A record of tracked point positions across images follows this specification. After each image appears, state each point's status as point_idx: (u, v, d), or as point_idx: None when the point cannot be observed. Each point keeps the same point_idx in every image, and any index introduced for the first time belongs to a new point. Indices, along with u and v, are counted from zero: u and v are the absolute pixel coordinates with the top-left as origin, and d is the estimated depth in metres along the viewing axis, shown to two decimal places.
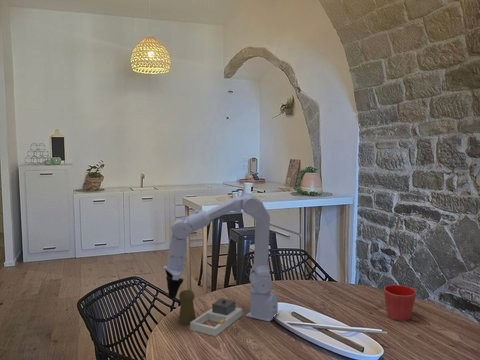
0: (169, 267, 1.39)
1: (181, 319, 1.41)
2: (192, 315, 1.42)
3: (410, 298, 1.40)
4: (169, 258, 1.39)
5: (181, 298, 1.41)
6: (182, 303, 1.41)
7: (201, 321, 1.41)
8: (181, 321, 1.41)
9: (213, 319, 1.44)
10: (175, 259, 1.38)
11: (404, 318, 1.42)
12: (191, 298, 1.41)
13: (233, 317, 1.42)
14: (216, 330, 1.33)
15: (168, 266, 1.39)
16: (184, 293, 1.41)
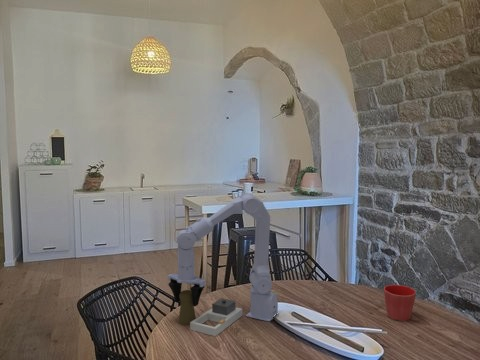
0: (187, 278, 1.39)
1: (181, 319, 1.41)
2: (192, 315, 1.42)
3: (410, 298, 1.40)
4: (185, 270, 1.39)
5: (181, 298, 1.41)
6: (182, 303, 1.41)
7: (201, 321, 1.41)
8: (181, 321, 1.41)
9: (213, 319, 1.44)
10: (191, 268, 1.40)
11: (404, 318, 1.42)
12: (191, 298, 1.41)
13: (233, 317, 1.42)
14: (216, 330, 1.33)
15: (185, 278, 1.39)
16: (184, 293, 1.41)
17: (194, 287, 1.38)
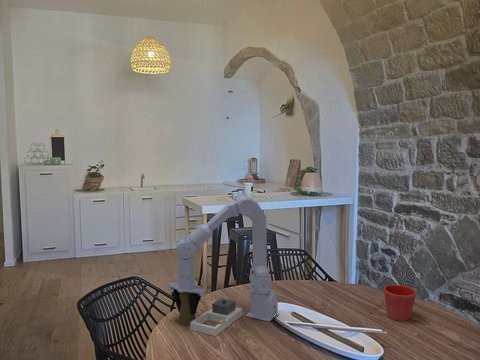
0: (187, 288, 1.40)
1: (181, 319, 1.41)
2: (192, 315, 1.42)
3: (410, 298, 1.40)
4: (185, 279, 1.39)
5: (181, 298, 1.41)
6: (182, 303, 1.41)
7: (201, 321, 1.41)
8: (181, 321, 1.41)
9: (213, 319, 1.44)
10: (192, 278, 1.40)
11: (404, 318, 1.42)
12: None
13: (233, 317, 1.42)
14: (216, 330, 1.33)
15: (185, 287, 1.39)
16: (184, 293, 1.41)
17: (194, 296, 1.39)
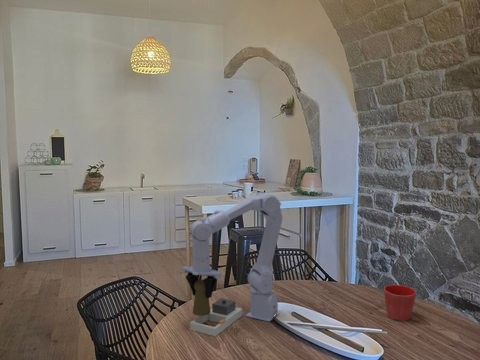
0: (202, 270, 1.36)
1: (195, 309, 1.38)
2: (206, 305, 1.38)
3: (410, 298, 1.40)
4: (200, 262, 1.36)
5: (196, 287, 1.38)
6: (197, 292, 1.38)
7: (201, 321, 1.41)
8: (195, 311, 1.38)
9: (213, 319, 1.44)
10: (207, 260, 1.37)
11: (404, 318, 1.42)
12: None
13: (233, 317, 1.42)
14: (216, 330, 1.33)
15: (200, 270, 1.36)
16: (199, 282, 1.38)
17: (210, 279, 1.35)
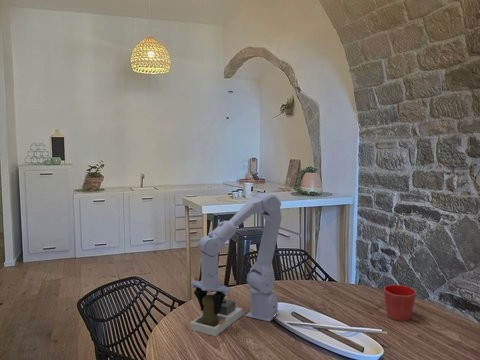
0: (211, 286, 1.35)
1: (204, 324, 1.37)
2: (215, 321, 1.37)
3: (410, 298, 1.40)
4: (209, 277, 1.35)
5: (204, 303, 1.36)
6: (205, 308, 1.37)
7: (201, 321, 1.41)
8: None
9: None
10: (216, 276, 1.36)
11: (404, 318, 1.42)
12: None
13: (233, 317, 1.42)
14: (216, 330, 1.33)
15: (209, 285, 1.35)
16: (207, 298, 1.36)
17: (219, 295, 1.34)
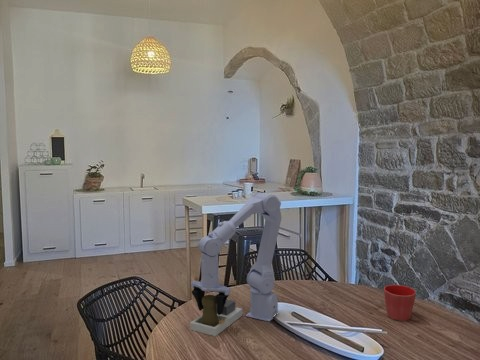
0: (211, 286, 1.35)
1: None
2: (215, 321, 1.37)
3: (410, 298, 1.40)
4: (209, 277, 1.35)
5: (204, 303, 1.36)
6: (205, 308, 1.37)
7: (201, 321, 1.41)
8: None
9: None
10: (216, 276, 1.36)
11: (404, 318, 1.42)
12: (214, 303, 1.36)
13: (233, 317, 1.42)
14: (216, 330, 1.33)
15: (209, 286, 1.35)
16: (207, 298, 1.36)
17: (219, 295, 1.34)
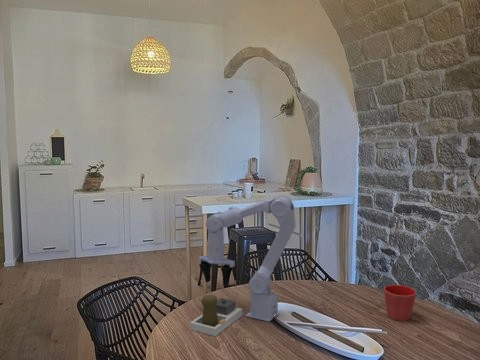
0: (217, 259, 1.48)
1: None
2: (215, 321, 1.37)
3: (410, 298, 1.40)
4: (215, 251, 1.48)
5: (204, 303, 1.36)
6: (205, 308, 1.37)
7: (201, 321, 1.41)
8: None
9: None
10: (221, 250, 1.49)
11: (404, 318, 1.42)
12: (214, 303, 1.36)
13: (233, 317, 1.42)
14: (216, 330, 1.33)
15: (216, 259, 1.48)
16: (207, 298, 1.36)
17: (224, 267, 1.47)
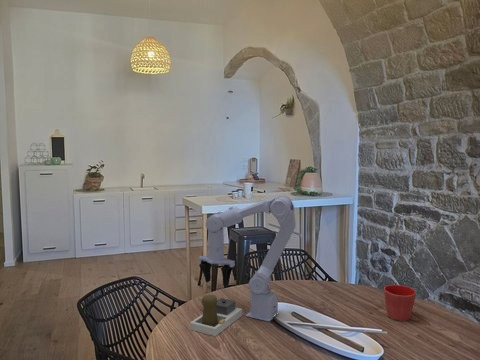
0: (217, 259, 1.48)
1: None
2: (215, 321, 1.37)
3: (410, 298, 1.40)
4: (215, 251, 1.48)
5: (204, 303, 1.36)
6: (205, 308, 1.37)
7: (201, 321, 1.41)
8: None
9: None
10: (221, 250, 1.49)
11: (404, 318, 1.42)
12: (214, 303, 1.36)
13: (233, 317, 1.42)
14: (216, 330, 1.33)
15: (216, 259, 1.48)
16: (207, 298, 1.36)
17: (224, 267, 1.47)
